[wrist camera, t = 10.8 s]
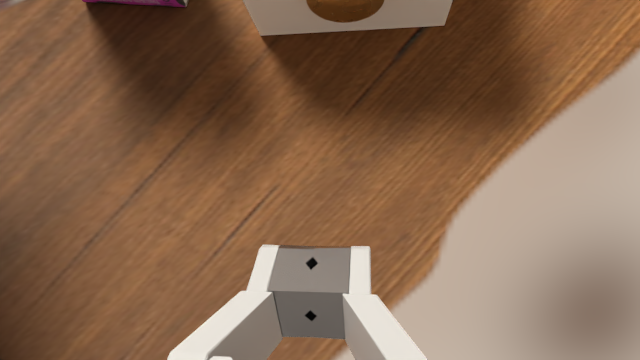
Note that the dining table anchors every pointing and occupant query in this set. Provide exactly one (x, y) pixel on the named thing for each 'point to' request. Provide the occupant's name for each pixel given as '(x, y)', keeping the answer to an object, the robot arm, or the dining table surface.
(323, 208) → the dining table surface
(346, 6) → the brass plug
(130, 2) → the candy bar box
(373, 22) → the socket block
